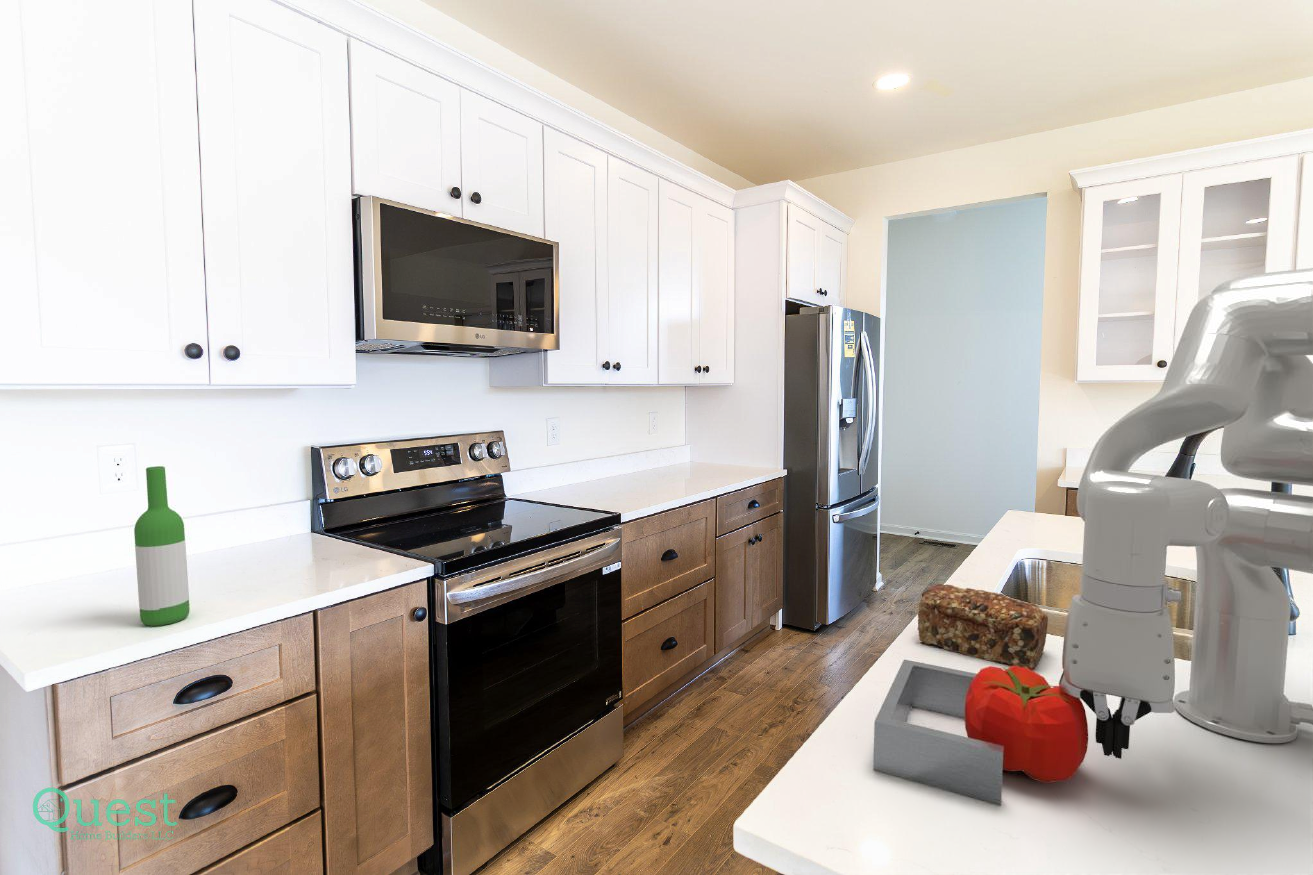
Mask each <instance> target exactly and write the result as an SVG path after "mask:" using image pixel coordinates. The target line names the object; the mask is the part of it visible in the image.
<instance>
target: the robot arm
mask: <svg viewBox="0 0 1313 875" xmlns="http://www.w3.org/2000/svg"><path fill="white" fill-rule="evenodd" d="M1193 306H1194V307H1193V308H1192V309H1191V311H1190V314H1189V316H1188V318H1187V319H1188V320H1187V322H1186V324H1185V327H1184V329H1183V331H1182V334H1181V336H1180V338H1179V342H1178V345H1177V347H1176V349H1175V351H1174V354H1173V357H1172V360H1171V362H1170V365H1169V367H1168V370H1167V372H1166V375H1165V377H1164V380H1163V383H1162V385H1161V388H1160V389H1159V391H1158V393H1157V394H1155V395H1153V397H1151V398H1149V399H1148V400H1146V401H1144V402H1143V403H1141V404H1139V405H1138V406H1136V407H1134V408H1133V409H1132V410H1131V411H1128V413H1126V414H1125V415H1124V416H1122V417H1121V418H1120V419H1119V420H1118V421H1116V422H1114V424H1112V425H1111V426H1110V427H1109V428H1107V430H1106V431H1104V433H1103V434H1102V435H1101V436H1100V438H1099V439H1098V440H1097V441H1096V443H1095V445H1094V447H1093V449H1092V450H1091V453H1090V455H1089V458H1088V461H1087V463H1086V465H1085V468H1084V469H1083V471H1082V472H1083V473H1082V476H1081V478H1080V481H1079V485H1078V488H1077V494H1076V509H1077V512H1078V516H1080V519H1082V521H1083V522H1084V527H1083V530H1084V531H1083V547H1082V561H1081V562H1082V564H1081V565H1082V566H1081V578H1080V594H1075V595H1072V598H1071V601H1070V603H1069V607H1068V612H1067V615H1066V622H1065V628H1064V634H1063V636H1064V637H1063V645H1062V646H1063V647H1062V658H1061V659H1062V660H1061V666H1062V670H1063V671H1062V674H1061V676H1060V678H1059V682H1058V686H1059V688H1060V690H1061V691H1062V692H1064V693H1066V694H1069V695H1071V696H1074V697H1076V698H1077V697H1078V698H1080V700H1081V701H1083V703H1084V704H1085V705H1086V706H1087V707H1088V708H1089V709H1090V710H1091V711H1092V712H1093V713H1094V714H1095V717H1096V718H1095V720H1096V721H1095V722H1096V723H1095V742H1096V743H1097V744H1101V747H1102V751H1103V755H1104V756H1107V757H1110V756H1112V755H1113V757H1115V759H1119V760H1122V754H1123V749H1124V750H1129V748H1130V733H1131V726H1133V725H1134V724H1135V721H1137V720H1140V719H1141V718H1143V717H1145V716H1146V715H1148V714H1150V713H1154V714H1173V713H1174V712H1175V711H1176V710H1177V712H1178V713H1179V714H1180V715H1182V716H1183V717H1185V718H1186V719H1187V720H1188V721H1190V722H1193V723H1195V724H1196V725H1198V726H1200V727H1203V728H1205V729H1208V730H1210V731H1212V732H1215V733H1218V734H1221V735H1225V736H1228V737H1231V738H1235V739H1240V740H1244V741H1248V742H1249V741H1250V742H1256V743H1264V744H1285V743H1289V742H1292V741H1294V740H1295V739H1296V738H1297V737H1298V726H1297V725H1300V724H1301V723H1305V724H1310V725H1312V726H1313V704H1310V703H1304V702H1296V701H1291V700H1289V698H1287V697H1286V695H1285V682H1286V681H1285V680H1286V672H1287V670H1286V669H1287V668H1286V667H1287V656H1288V646H1289V632H1290V621H1291V611H1292V607H1291V606H1292V603H1291V598H1290V595H1289V593H1288V590H1287V588H1286V587H1285V585H1284V583H1283V582H1282V581H1281V578H1279V576H1278V575H1277V574H1276V572H1275V571H1274V570H1273V568H1278V569H1279V568H1280V569H1284V570H1289V571H1290V570H1291V571H1295V572H1301V573H1306V574H1311V575H1313V496H1310V495H1304V494H1303V495H1301V494H1291V493H1286V492H1278V491H1269V490H1262V489H1261V490H1260V489H1253V488H1252V489H1251V488H1242V487H1240V488H1238V487H1230V488H1227V487H1226V488H1217V487H1215V486H1214V485H1212V484H1209V483H1207V482H1204V481H1201V480H1196V479H1190V478H1189V479H1188V478H1180V477H1173V476H1164V475H1163V476H1162V475H1158V474H1157V475H1156V474H1150V473H1149V474H1147V473H1141V472H1140V473H1138V472H1131V471H1130V472H1129V470H1130V469H1131V467H1132V466H1133V465H1134V464H1135V463H1136V462H1137V461H1138V459H1140V458H1141V457H1142V456H1143V455H1145V454H1147V453H1148V452H1149V451H1152V450H1154V449H1155V448H1157V447H1159V446H1162V445H1164V444H1167V443H1169V442H1173V441H1176V440H1180V439H1183V438H1187V437H1190V436H1194V435H1197V434H1201V433H1205V432H1208V431H1211V430H1215V429H1218V428H1220V427H1221V428H1222V427H1224V428H1223V432H1222V438H1221V444H1220V463H1221V464H1222V465H1221V466H1222V467H1223V468H1224V469H1225V470H1226V471H1227V473H1229V474H1231V475H1233V476H1236V477H1239V478H1244V479H1249V480H1254V481H1262V482H1264V481H1265V482H1268V483H1270V482H1271V483H1279V484H1280V483H1281V484H1288V485H1289V484H1290V485H1300V486H1309V487H1313V362H1312V361H1311V359H1310V358H1309V357H1308V356H1313V267H1311V268H1304V269H1303V268H1301V269H1291V270H1289V269H1288V270H1281V271H1273V272H1265V273H1264V272H1263V273H1256V274H1251V275H1246V276H1245V275H1244V276H1241V277H1236V278H1232V279H1230V280H1226V281H1224V282H1222V283H1220V284H1219V285H1217V286H1216V287H1215V288H1214V289H1213V290H1212V291H1211V293H1210V294H1208V295H1206V296H1204V297H1203V298H1201V299H1200V300H1198V302H1197V303H1195V305H1193ZM1171 546H1172V547H1185V548H1186V547H1188V548H1190V547H1192V548H1193V547H1195V554H1196V556H1195V557H1196V587H1195V602H1194V603H1195V604H1194V615H1193V616H1194V617H1193V628H1192V629H1193V630H1192V642H1191V643H1192V644H1191V645H1192V646H1191V658H1190V659H1191V663H1190V674H1189V675H1190V678H1189V685H1188V686H1189V689H1188V690H1184V691H1181V692H1180V691H1179V692H1178V693H1177V694H1175V688H1176V687H1175V686H1176V684H1175V683H1176V681H1175V680H1176V668H1175V666H1176V664H1175V663H1176V661H1175V660H1176V658H1175V641H1174V640H1175V639H1174V632H1173V631H1174V630H1173V624H1172V618H1171V617H1172V616H1171V613H1170V610H1169V608H1167V607H1166V605H1168V603H1172V602H1173V603H1180V602H1181V600H1182V592H1181V590H1180V589H1173V588H1172V587H1168V586H1167V584H1166V583H1165V579H1166V568H1167V567H1166V566H1167V565H1166V564H1167V552H1168V550H1167V549H1168V548H1167V547H1171ZM1107 695H1108V696H1112V697H1113V696H1114V697H1119V698H1120V701H1119V705H1118V708H1117V709H1116V710H1115V711H1114V712H1113V714H1112V712H1111V708H1109V707H1108V698H1107Z"/></svg>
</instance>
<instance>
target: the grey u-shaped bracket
mask: <svg viewBox="0 0 1313 875" xmlns="http://www.w3.org/2000/svg"><path fill="white" fill-rule="evenodd" d="M977 674H978V673H975V672H969V671H964V670H960V669H956V668H950V667H946V666H945V667H944V666H941V665H940V666H939V665H935V664H930V663H924V662H920V661H916V660H915V661H914V660H910V659H903V660H902V663H901V664H900V667H899V669H898V671H897V673H896V674H895V675H896V676H895V678H894V680H893V681H892V684H891V686H890V688H889V690H888V692H887V694H886V696H885V698H884V701H883V702H882V704H881V707H880V709H879V712H878V713H877V715H876V717H875V719H874V726H873V727H874V730H873V766H872V768H873V770H874V771H878V772H881V773H884V774H888V775H891V776H894V777H899V778H902V779H904V780H905V779H906V780H909V781H913V782H916V783H920V784H922V785H923V784H924V785H928V786H930V787H934V788H938V789H941V790H945V791H948V792H951V793H955V794H959V795H962V796H966V797H969V798H973V799H975V800H976V799H977V800H980V801H984V802H987V803H990V804H993V805H994V804H995V805H998V806H1001V805H1002V798H1003V797H1002V795H1003V793H1002V792H1003V772H1004V771H1003V753H1004V746H1001V745H997V744H993V743H989V742H984V741H980V740H976V739H972V738H968V736H962V735H960V734H955V733H951V732H946V731H943V730H938V729H934V728H931V727H926V726H922V725H917V724H914V723H909V722H907V720H908V718H909V715H910V713H911V709H912V708H913V707H914V708H919V709H922V710H926V711H932V712H936V713H941V714H943V715H944V714H945V715H949V716H953V717H958V718H963V719H965V702H966V695H967V692H968V689H969V687H970V684H971V682H972V681H973V679H974V677H975V676H976V675H977Z"/></svg>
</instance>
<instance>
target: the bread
mask: <svg viewBox="0 0 1313 875" xmlns="http://www.w3.org/2000/svg"><path fill="white" fill-rule="evenodd" d="M917 618H918V619H917V624H918V625H917V630H918V637H919V642H920V643H921V642H922V643H924V644H925V645H926V646H927V645H936V646H938V647H939V648H943V649H944V650H948V651H950V652H954V653H959V654H963V655H966V656H970V657H974V658H977V659H981V660H984V661H989V662H997V663H1002V664H1003V663H1005V664H1007V665H1011V666H1013V665H1014V666H1019V667H1023V668H1028V669H1030V670H1032V669H1035V667H1036V666H1037V665H1038V664H1037V663H1038V661H1039V660H1040V659H1041V658H1042V656H1043V653H1044V650H1045V645H1046V642H1047V641H1046V639H1047V633H1048V623H1049V617H1048V614H1046V613H1045V612H1044V611H1043V609H1041V608H1040V607H1039V606H1038V605H1037V604H1034V603H1031V602H1030V603H1029V602H1026V601H1022V600H1020V599H1015V598H1012V597H1008V596H1007V595H1004V594H1003V593H998V592H994V591H992V592H991V591H986V590H983V589H975V588H970V587H969V588H968V587H967V588H961V587H958V586H954V585H953V584H941V583H939V584H934V585H932V586H929V587H928V588H927V589H925V591H922V593H921V598H920V601H919V604H918V611H917Z"/></svg>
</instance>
